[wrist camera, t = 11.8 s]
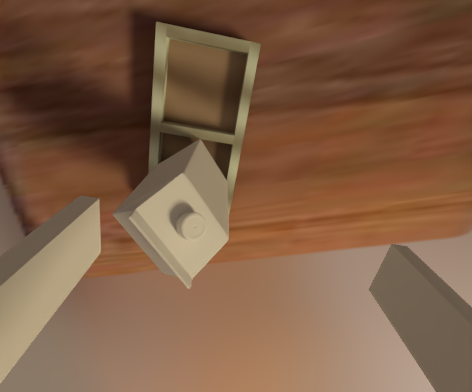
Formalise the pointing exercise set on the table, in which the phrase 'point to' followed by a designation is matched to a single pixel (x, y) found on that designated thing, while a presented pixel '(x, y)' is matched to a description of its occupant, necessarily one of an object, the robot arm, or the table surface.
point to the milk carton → (179, 212)
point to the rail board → (201, 95)
